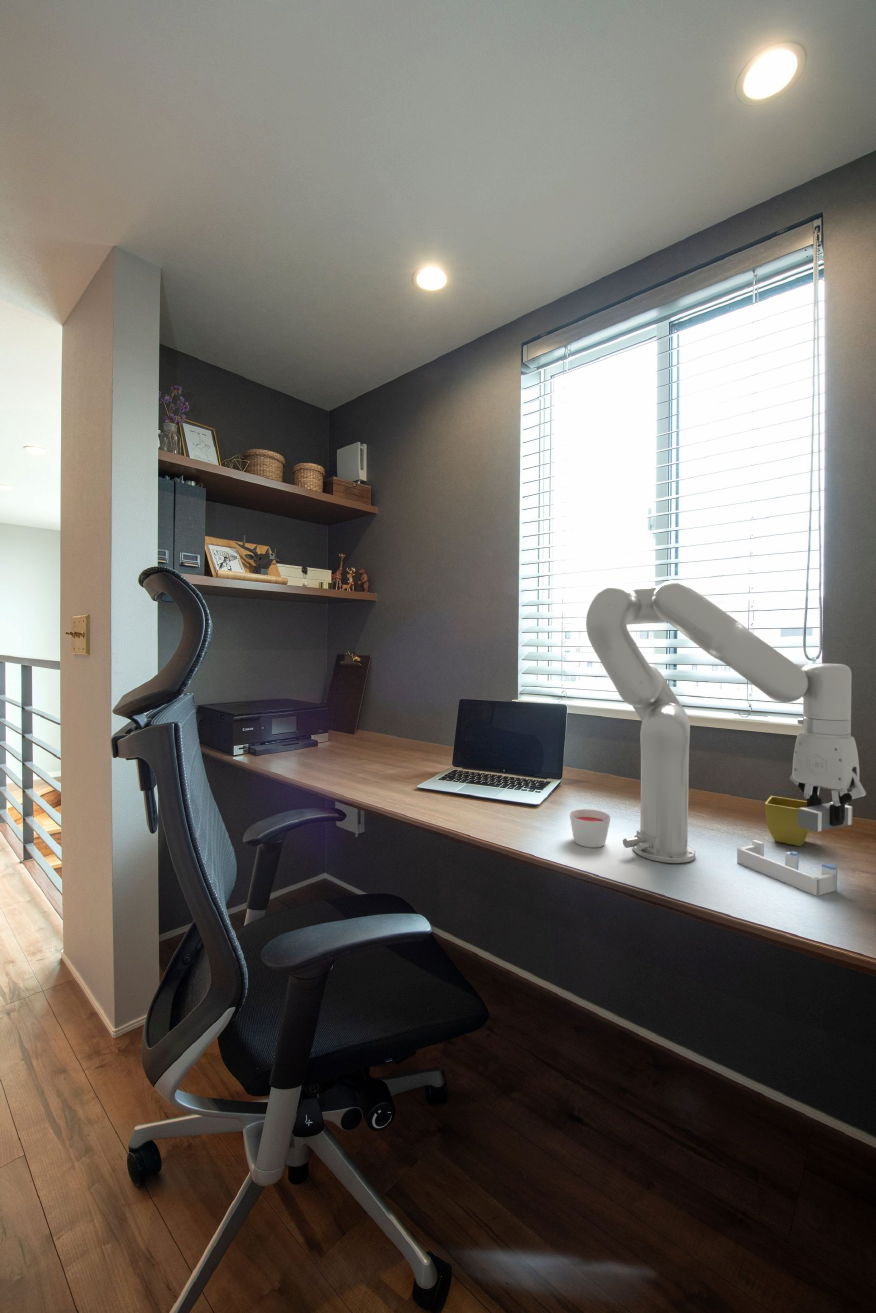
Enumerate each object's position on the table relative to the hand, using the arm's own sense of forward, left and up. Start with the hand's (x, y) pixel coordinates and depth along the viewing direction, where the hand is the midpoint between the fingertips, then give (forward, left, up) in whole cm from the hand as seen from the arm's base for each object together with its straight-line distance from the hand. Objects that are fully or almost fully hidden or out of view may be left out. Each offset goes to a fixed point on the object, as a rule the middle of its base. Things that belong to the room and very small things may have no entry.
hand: (825, 820), depth 106 cm
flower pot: (+13, +16, -11) cm, 23 cm away
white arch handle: (-6, +4, -11) cm, 13 cm away
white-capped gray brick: (0, 0, -1) cm, 1 cm away
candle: (-30, +33, -11) cm, 46 cm away
